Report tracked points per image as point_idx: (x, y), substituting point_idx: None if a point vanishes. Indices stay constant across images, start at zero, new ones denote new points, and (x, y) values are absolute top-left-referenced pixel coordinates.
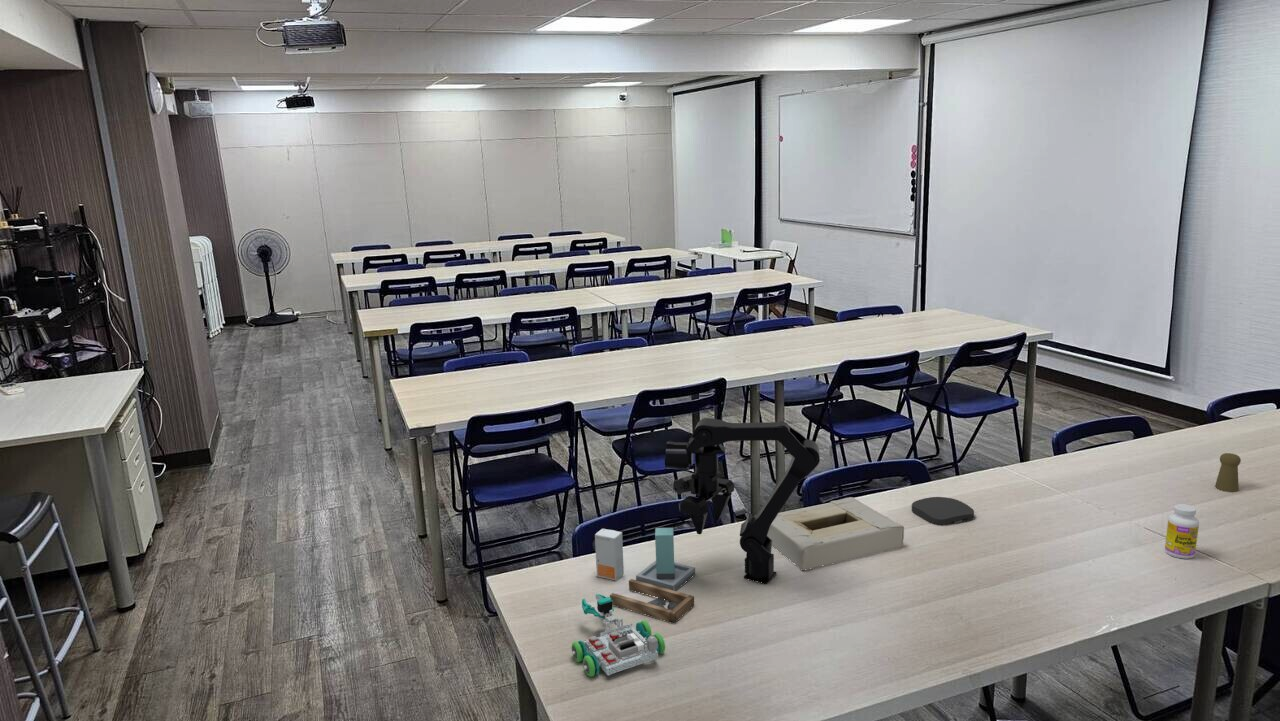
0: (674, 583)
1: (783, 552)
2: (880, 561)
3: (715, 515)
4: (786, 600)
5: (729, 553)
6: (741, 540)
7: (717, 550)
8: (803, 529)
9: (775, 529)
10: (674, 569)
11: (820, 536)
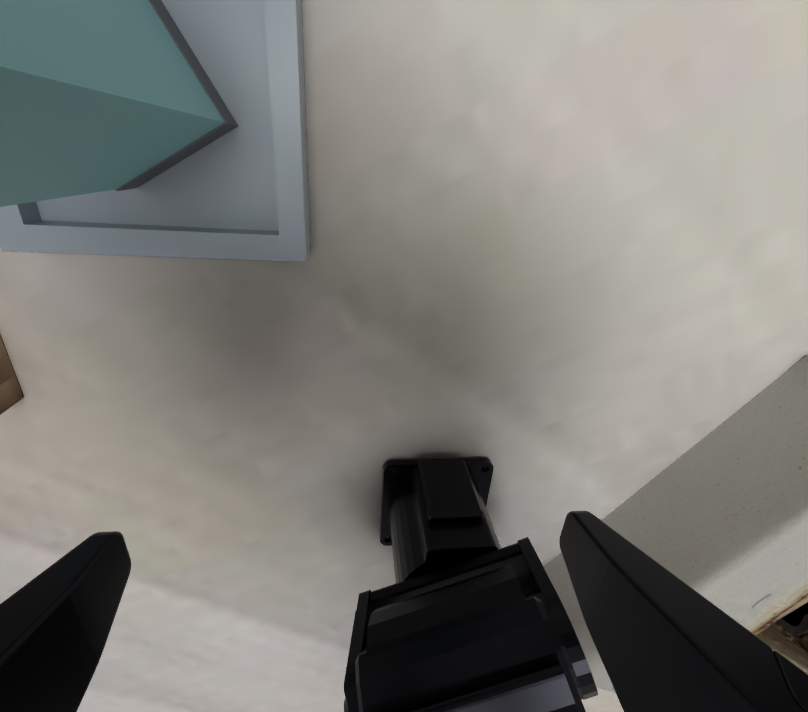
0: (33, 245)
1: (642, 505)
2: None
3: (599, 582)
4: (310, 614)
5: (611, 302)
6: (358, 692)
7: (634, 228)
8: (761, 615)
9: (770, 522)
10: (166, 159)
11: None
